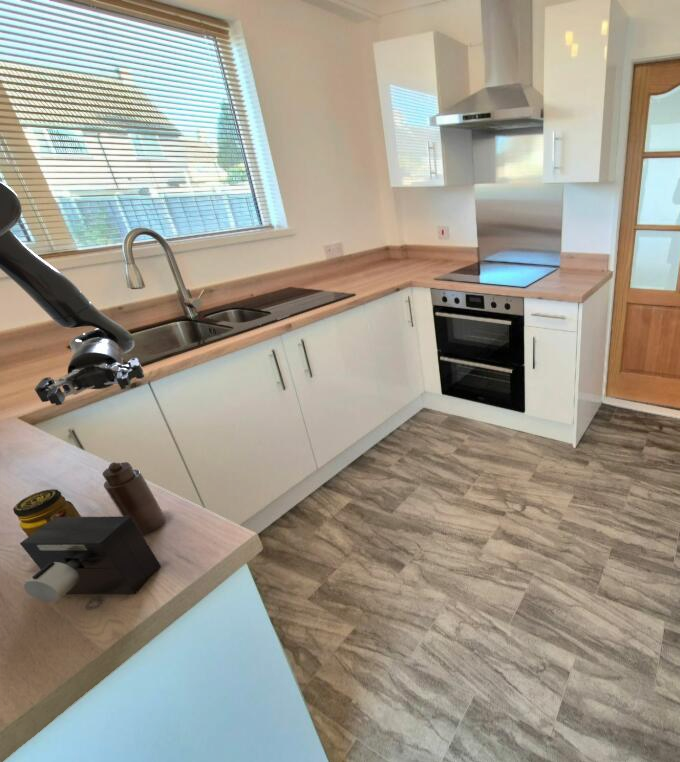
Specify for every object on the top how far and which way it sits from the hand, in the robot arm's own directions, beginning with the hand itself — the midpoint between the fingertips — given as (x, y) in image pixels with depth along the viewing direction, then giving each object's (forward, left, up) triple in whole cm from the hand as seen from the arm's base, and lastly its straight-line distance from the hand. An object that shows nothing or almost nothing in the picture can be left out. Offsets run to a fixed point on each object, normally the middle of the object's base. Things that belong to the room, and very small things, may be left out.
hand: (90, 391), depth 73 cm
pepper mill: (+5, -10, -23) cm, 26 cm away
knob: (+5, -26, -19) cm, 32 cm away
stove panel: (+6, -21, -23) cm, 32 cm away
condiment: (-4, -13, -24) cm, 27 cm away
